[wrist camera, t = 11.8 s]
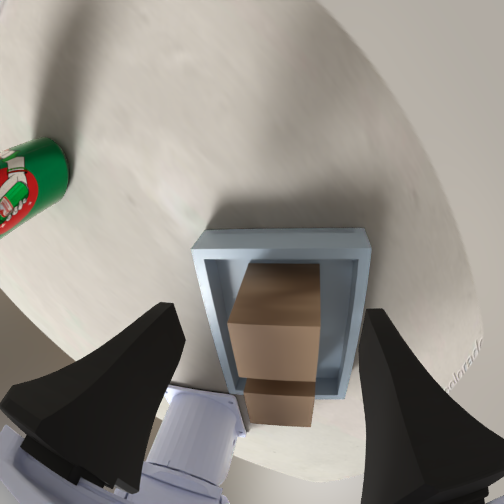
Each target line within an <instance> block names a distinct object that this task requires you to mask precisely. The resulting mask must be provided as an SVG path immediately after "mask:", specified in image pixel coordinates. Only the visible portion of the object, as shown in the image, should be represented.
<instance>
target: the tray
mask: <svg viewBox="0 0 504 504" xmlns="http://www.w3.org/2000/svg"><path fill="white" fill-rule="evenodd" d="M371 250H372V248H371V245H370V242H369V239H368V237H367V234H366V231H365V229H364V228H271V229H223V230H204V232H203V233H202V235H201V236H200V237H199V239H198V240H197V241H196V243H195V244H194V245H193V247H192V248H191V252H192V256H193V261H194V265H195V269H196V273H197V278H198V282H199V286H200V290H201V294H202V298H203V302H204V306H205V310H206V313H207V317H208V321H209V325H210V328H211V332H212V336H213V339H214V343H215V347H216V350H217V354H218V357H219V361H220V364H221V368H222V371H223V374H224V378H225V381H226V384H227V388H228V391H229V393H230V394H239V395H244V393H243V392H244V388H245V384H246V380H247V378H243V377H239V375H238V371H237V366H236V362H235V357H234V353H233V348H232V344H231V339H230V335H229V330H228V325H227V322H228V319H229V316H230V314H231V311H232V308H233V305H234V303H235V300H236V297H237V294H238V291H239V289H240V286H241V283H242V280H243V278H244V275H245V272H246V269H247V267H248V264H249V263H294V264H320V309H321V327H320V340H319V352H318V363H317V374H316V383H315V399H345V395H346V391H347V387H348V383H349V379H350V375H351V371H352V366H353V362H354V357H355V353H356V348H357V343H358V338H359V333H360V327H361V322H362V316H363V310H364V304H365V297H366V291H367V284H368V276H369V268H370V260H371Z"/></svg>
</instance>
